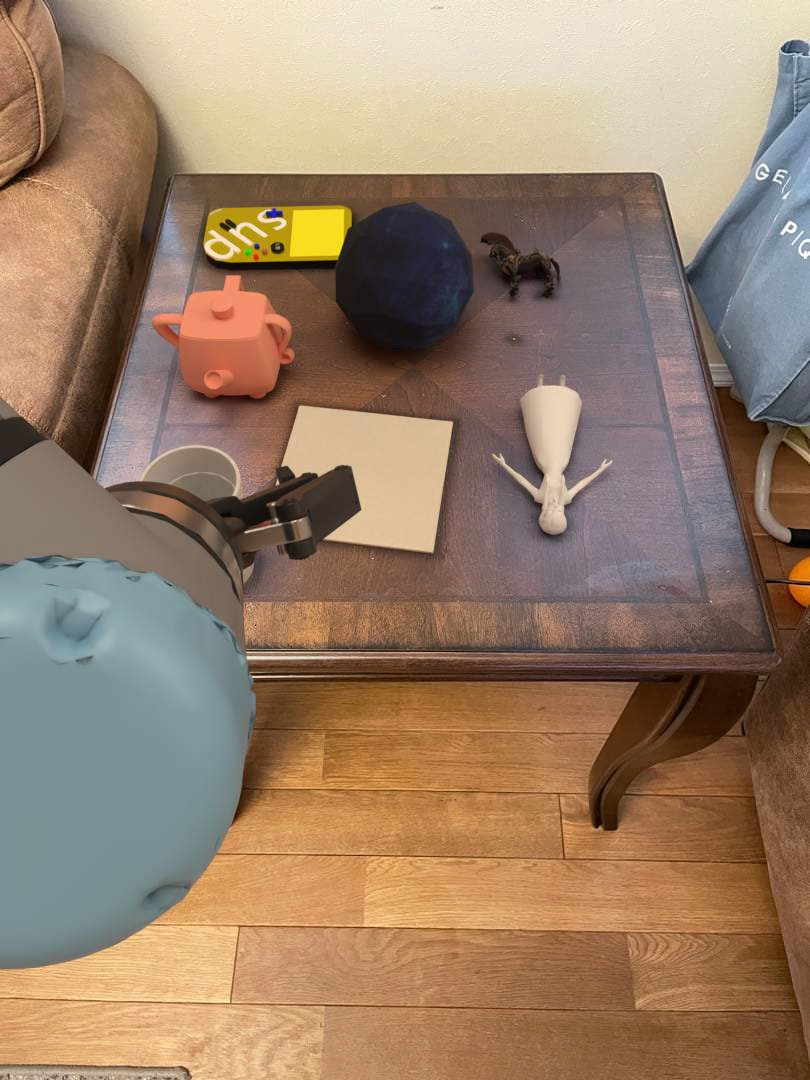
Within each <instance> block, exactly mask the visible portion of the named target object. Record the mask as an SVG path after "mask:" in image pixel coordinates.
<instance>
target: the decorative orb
mask: <svg viewBox="0 0 810 1080" xmlns="http://www.w3.org/2000/svg"><path fill="white" fill-rule="evenodd" d="M334 269H335V270H334V271H335V275H334V276H335V277H334V279H335V303H336V304H337V306H338V307H339V309H340V311H341V313H343V315H344V316H345V318H346V319H347V322H349V324H350V326H351V327H352V328H353V330H354V332H355V333H356V334H357V336H358V337H361V338H363V339H365V340H368V341H370V342H372V343H374V344H377V345H378V346H380V347H382V348H385V349H387V350H389V351H392V352H399V351H409V350H417V349H426V348H428V347H430V346H431V345H433V344H434V343H435V342H437V341H438V340H439V339H441V338H442V337H444V336H445V335H446V334H448V333H450V332H451V331H452V330H454V329H455V328H456V327H458V324H459V322H460V320H461V317H462V316H463V314H464V312H465V310H466V307H467V306H468V304H469V302H470V300H471V297H472V296H473V294H474V291H475V288H474V271H473V270H474V269H473V255H472V253H471V252H470V250H469V248H468V247H467V245H466V243H465V241H464V240H463V238H462V236H461V234H460V233H459V231H458V229H457V228H456V226H455V224H454V223H453V221H452V219H449V218H447V217H445V216H444V215H441V214H440V213H438V212H435V211H434V210H432V209H430V208H428V207H426V206H424V205H422V204H420V203H418V202H416V201H413V202H412V201H411V202H408V203H402V204H397V205H391V206H385V207H382V208H379V209H378V210H377V211H374V213H372V214H370V215H369V216H367V217H364V218H363V219H361V220H360V221H358V222H357V223H355V224H352V226H351V227H350V228H348V230H347V233H346V236H345V239H344V242H343V245H342V248H341V251H340V254H339V257H338V260H337V263H336V266H335V268H334Z"/></svg>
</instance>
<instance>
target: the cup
mask: <svg viewBox="0 0 810 1080" xmlns="http://www.w3.org/2000/svg"><path fill="white" fill-rule="evenodd" d="M138 481H152V482H159V483H164V484H169V485H172V486H176V487H179V488H181V489H184V490H186V491H188V492H190V493H192V494H194V495H196V496H197V497H199V498H200V499H202V500H203V501H208V500H210V499H214V498H221V497H228V496H236V497H238V499H239V500H240V499H243V498H244V494H243V486H242V480H241V473H240V470H239V467H238V465H237V463H236V462H235V460H234V459H233V457H232V456H230V455H229V454H228V453H226V452H225V451H223V450H221V449H219V448H216V447H214V446H209V445H204V444H189V445H182V446H180V447H175V448H172V449H170V450H167V451H166V452H164V453H162V454H160V455H158V457H155V458H154V459H153V460H152V461H151V462H150V463H149V464H148V465H147V466H146V467H145V469H144V470H143V472H142V473H141V475H140V477H139V479H138ZM254 569H255V561H254V562H253V564H252V565H251V566H250V567H248V568H246V569H244V570H243V585H245V584H246V583H247V582H248V580H249V579H250V578H251V576H252V573H253V571H254Z"/></svg>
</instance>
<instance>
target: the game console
mask: <svg viewBox="0 0 810 1080" xmlns="http://www.w3.org/2000/svg"><path fill="white" fill-rule="evenodd" d="M351 226H353V212H352V210H351V209H350V208H349V207H347V206H345V205H297V206H296V205H295V206H292V205H291V206H255V207H251V206H249V207H222V208H221V207H220V208H217V209H213V210H211V211H210V212H209V213H208V215H207V220H206V226H205V232H204V238H203V242H202V244H203V245H202V246H203V249H204V252H205V257H206V261H207V262H208V263H209V264H210V265H212V266H214V267H215V268H217V269H222V270H227V271H260V270H261V271H262V270H263V271H264V270H305V269H307V270H308V269H335V266H336V263H337V260H338V257H339V254H340V251H341V248H342V245H343V242H344V239H345V236H346V233H347V230H348V228H350V227H351Z"/></svg>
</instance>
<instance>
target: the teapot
mask: <svg viewBox="0 0 810 1080" xmlns="http://www.w3.org/2000/svg"><path fill="white" fill-rule="evenodd" d="M223 286H224V287H223V290H204V291H197V292H193V293H191V294H190V295H189V297H188V298H187V302H186V305H185V306H184V307H185V308H184V310H183V314H181V313H159V314H156V315H154V316H153V317H152V319H151V326H152V328H153V329H154V330H155V332H156V333H157V334H158V335H159V337H161V338H162V339H163V340H165V341H166V342H167V343H169V344H170V345H172V346H173V347H174V348H176V349H178V359H179V365H180V371H181V375H182V378H183V381H184V382H185V384H186V385H187V386H188V387H189V388H190V389H191V390H193V391H194V392H197V393H203V394H204V396H205V397H207V398H216V397H219V396H246V395H247V396H249V397H250V398H252V399H262V398H263V397H265V396H266V394H267V393H269V392H271V391H273V390H274V388H275V387H276V383H277V381H278V375H279V372H280V367H281V364H282V365H288V364H291V363H292V362H293V361H294V359H295V352H294V350H293V349H292V348H290V347H287V346H288V344H289V342H290V341H291V337H292V333H293V329H292V325H291V323H290V321H289V320H288V319H287V318H286V317H284V316H282V315H280V314H277V313H276V312H275V309H274V307H273V306H272V304H271V302H270V300H269V299H268V296H267V295H265V294H262V293H259V292H253V291H245V287H244V283H243V278H242V275H239V274H238V275H236V274H235V275H226V276H225V281H224V285H223ZM170 326H179V334H177V333H176V332H175V331H174V330H173V329H172V328H171V327H170ZM282 330H283V331H284V334H283V332H282Z"/></svg>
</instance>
